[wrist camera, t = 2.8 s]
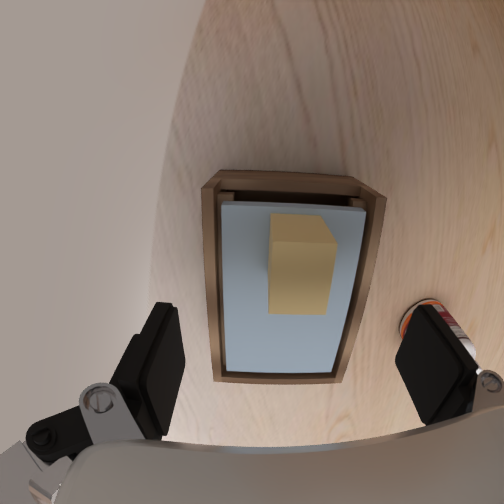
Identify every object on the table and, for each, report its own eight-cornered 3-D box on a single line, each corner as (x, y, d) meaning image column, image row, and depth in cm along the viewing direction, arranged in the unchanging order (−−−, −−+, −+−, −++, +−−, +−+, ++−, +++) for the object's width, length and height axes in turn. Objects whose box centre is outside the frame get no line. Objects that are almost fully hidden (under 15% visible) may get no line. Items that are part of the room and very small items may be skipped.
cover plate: (223, 200, 18) (208, 230, 13) (361, 207, 18) (394, 238, 13) (227, 362, 23) (220, 412, 19) (329, 363, 23) (339, 412, 18)
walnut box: (219, 170, 23) (201, 188, 16) (352, 176, 23) (386, 198, 16) (223, 328, 29) (213, 381, 23) (327, 330, 29) (341, 382, 22)
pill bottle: (413, 347, 30) (446, 414, 20) (388, 325, 29) (425, 400, 19) (449, 313, 28) (494, 375, 18) (429, 287, 27) (480, 353, 17)
